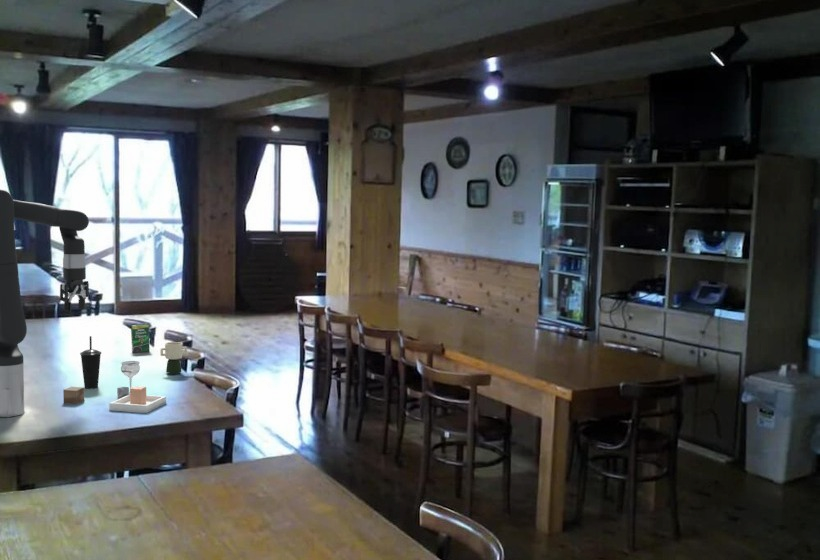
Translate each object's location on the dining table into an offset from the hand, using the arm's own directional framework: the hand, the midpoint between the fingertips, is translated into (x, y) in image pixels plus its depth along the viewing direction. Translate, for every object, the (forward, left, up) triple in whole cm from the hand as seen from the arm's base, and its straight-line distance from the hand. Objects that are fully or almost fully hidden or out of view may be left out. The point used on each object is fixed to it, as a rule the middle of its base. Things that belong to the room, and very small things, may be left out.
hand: (75, 310), depth 289 cm
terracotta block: (-6, -28, -31) cm, 42 cm away
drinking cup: (+16, +4, -32) cm, 36 cm away
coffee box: (+88, +23, -32) cm, 97 cm away
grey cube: (+3, -17, -32) cm, 37 cm away
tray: (-6, -28, -32) cm, 43 cm away
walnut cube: (-6, -3, -32) cm, 33 cm away
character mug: (+48, -14, -32) cm, 60 cm away
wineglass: (+10, -16, -32) cm, 37 cm away
